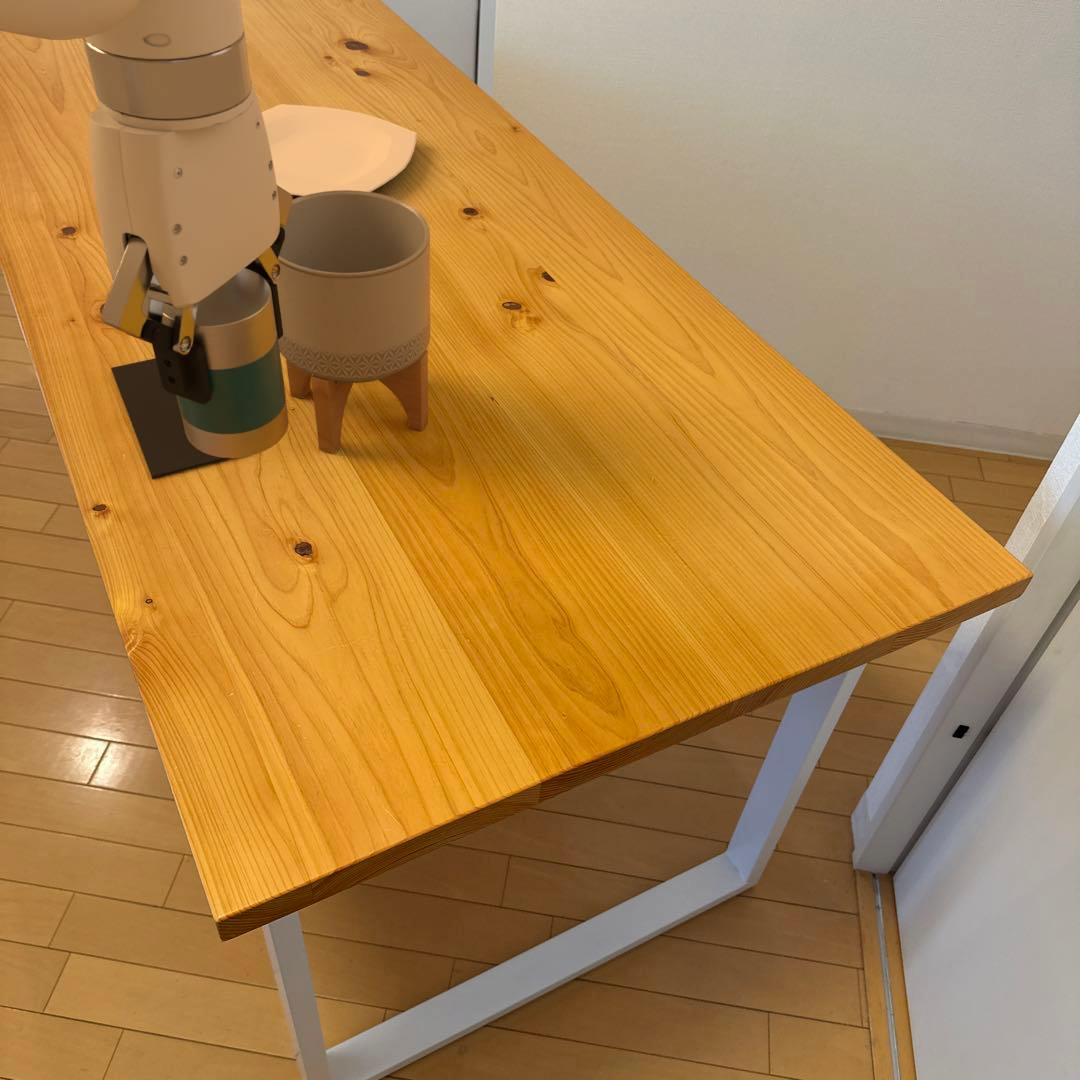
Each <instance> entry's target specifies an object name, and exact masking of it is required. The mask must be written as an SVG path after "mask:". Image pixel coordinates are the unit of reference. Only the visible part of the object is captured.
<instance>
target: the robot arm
mask: <svg viewBox="0 0 1080 1080" xmlns="http://www.w3.org/2000/svg"><path fill="white" fill-rule="evenodd" d="M0 32H5V33H8V34H14V35H19V36H25V37H32V38H38V39H43V40H50V41H69V40H71V41H72V40H79V39H80V40H81V39H82V41H83V46H84V49H85V54H86V57H87V61H88V66H89V70H90V74H91V78H92V79H91V80H92V83H93V87H94V92H95V95H96V99H97V103H98V107H97V108H96V109H94V110H93V111H91V113H89V129H88V130H89V131H88V134H89V135H88V136H89V137H88V138H89V157H90V168H91V177H92V185H93V192H94V200H95V206H96V207H95V208H96V213H97V219H98V223H99V229H100V233H101V239H102V243H103V249H104V253H105V257H106V262H107V265H108V269H109V273H110V276H111V279H112V283H111V286H110V289H109V292H108V294H107V296H106V299H105V302H104V305H103V307H102V310H101V314H100V318H101V322H102V323H104V324H105V325H107V326H110V327H111V328H114V329H115V330H118V331H120V332H122V333H125V334H126V335H127V336H130V337H133V338H136V339H138V340H140V341H144V342H146V343H149V344H151V346H152V351H153V354H154V358H155V359H156V363H157V367H158V371H159V375H160V379H161V383H162V386H163V388H164V389H165V390H166V391H167V392H170V393H172V394H175V395H178V396H180V397H183V398H186V399H189V400H191V401H194V402H197V403H200V404H203V405H205V404H206V403H208V402H209V401H210V400H211V399H212V392H211V387H210V382H209V377H208V372H207V367H206V362H205V357H204V352H203V348H202V346H200V345H198V344H196V343H193V339H194V330H195V322H196V314H197V306H198V302H199V301H201V300H202V299H204V298H205V297H207V296H208V295H210V294H211V293H212V292H214V291H215V290H216V289H218V288H219V287H220V286H222V285H223V284H224V283H226V282H227V281H228V280H230V279H231V278H232V277H233V276H235V275H236V274H237V273H239V272H240V271H241V270H242V269H244V268H246V269H249V270H251V271H254V272H256V273H257V274H259V275H260V276H262V277H263V278H264V279H265V280H266V281H267V282H268V284H269V286H270V288H271V294H272V301H273V308H274V316H275V323H276V330H277V334H278V340H279V339H280V338H281V337H282V336H283V327H282V319H281V312H280V304H279V297H278V289H277V284H274V283H273V281H277V280H278V279H279V277H280V275H281V271H282V267H281V264H280V262H279V261H278V257H279V254H280V251H281V248H282V245H283V242H284V240H285V230H284V228H283V226H284V227H285V225H286V222H287V219H288V216H289V212H290V209H291V206H292V202H293V199H294V198H293V197H294V196H292V195H291V194H290V193H289V192H287V191H286V190H284V189H283V188H281V187H279V186H278V185H277V184H276V177H275V171H274V166H273V160H272V155H271V150H270V145H269V141H268V136H267V132H266V128H265V123H264V119H263V116H262V112H263V111H262V109H261V105H260V101H259V99H258V95H257V92H256V89H255V86H254V83H253V80H251V72H250V66H249V65H250V64H249V57H248V48H247V41H246V40H247V39H246V32H245V28H244V19H243V12H242V5H241V0H0ZM164 303H165V304H168V305H171V306H174V307H175V308H176V309H175V317H174V326H173V328H172V327H169V326H167V325H165V324H162V317H163V308H164Z"/></svg>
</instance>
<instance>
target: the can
mask: <svg viewBox="0 0 1080 1080" xmlns="http://www.w3.org/2000/svg"><path fill="white" fill-rule="evenodd" d="M175 309H176V308H175V307H174V306H171V305H168V304H165V303H164V308H163V317H162V324H165V325H167V326H169V327H172V328H173V326H174V317H175ZM193 343H196V344H198V345H200V346H202V348H203V352H204V357H205V362H206V367H207V372H208V377H209V382H210V387H211V392H212V399H211V400H210V401H209V402H208V403H206V404H205V405H203V404H200V403H197V402H194V401H191V400H189V399H186V398H183V397H180V396H178V395H176V396H177V401H178V405H179V409H180V412H181V416H182V420H183V424H184V429H185V433H186V436H187V438H188V440H189V442H190V443H191V444H192V445H193V446H194V447H195V448H197V449H198V450H200V451H201V452H204V453H206V454H209V455H212V456H216V457H222V458H231V459H238V458H239V459H241V458H247V457H252V456H255V455H259V454H261V453H263V452H265V451H267V450H269V449H271V448H273V447H274V446H275V445H277V444H278V443H279V442H280V441H281V440H282V439H283V437H284V436H285V435H286V433H287V431H288V429H289V414H288V413H289V412H288V405H287V395H286V388H285V380H284V379H285V378H284V373H283V366H282V359H281V358H282V357H281V353H280V349H279V342H278V334H277V330H276V323H275V316H274V308H273V301H272V294H271V288H270V286H269V284H268V282H267V281H266V280H265V279H264V278H263V277H262V276H260V275H259V274H257V273H256V272H254V271H251V270H249V269H246V268H244V269H242V270H241V271H240V272H239V273H237V274H236V275H235V276H233V277H232V278H231V279H230V280H228V281H227V282H226V283H224V284H223V285H222V286H220V287H219V288H218V289H216V290H215V291H214V292H212V293H211V294H210V295H208V296H207V297H205V298H204V299H202V300H201V301H199V302H198V306H197V314H196V322H195V330H194V339H193Z"/></svg>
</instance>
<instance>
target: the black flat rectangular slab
mask: <svg viewBox="0 0 1080 1080" xmlns="http://www.w3.org/2000/svg"><path fill="white" fill-rule="evenodd" d="M110 370H111V373H112V374H113V378H114V381H115V383H116V386H117V388H118V391H119V395H120V397H121V399H122V401H123V405H124V407H125V410H126V412H127V415H128V418H129V421H130V423H131V426H132V429H133V431H134V433H135V436H136V439H137V442H138V445H139V448H140V450H141V453H142V455H143V458H144V460H145V462H146V466H147V468H148V472H149V473H150V476H151V479H152V480H154V479H158V478H161V477H165V476H169V475H173V474H178V473H180V472H184V471H188V470H192V469H197V468H200V467H204V466H208V465H211V464H215V463H216V464H217V463H220V462H223V461H224V462H225V461H227V460H231V459H232V458H222V457H216V456H212V455H209V454H206V453H204V452H201V451H200V450H198V449H197V448H195V447H194V446H193V445H192V444H191V443H190V442H189V440H188V438H187V436H186V433H185V429H184V424H183V420H182V416H181V412H180V409H179V405H178V401H177V396H176V395H175V394H172V393H170V392H167V391H166V390H165V389H164V388H163V386H162V383H161V379H160V375H159V371H158V367H157V363H156V359H155V357H154V358H149V359H145V360H140V361H136V362H132V363H127V364H123V365H117V366H112V367H110Z"/></svg>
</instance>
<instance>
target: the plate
mask: <svg viewBox="0 0 1080 1080" xmlns="http://www.w3.org/2000/svg"><path fill="white" fill-rule="evenodd" d="M261 112H262V116H263V119H264V123H265V128H266V132H267V136H268V141H269V145H270V150H271V155H272V160H273V166H274V171H275V177H276V184H277V185H278V186H279V187H281V188H283V189H284V190H286V191H287V192H289V193H290V194H291V195H292V197H296V198H299V197H301V196H305V195H309V194H313V193H319V192H325V191H336V190H354V191H365V192H372V193H374V192H375V191H377V190H378V189H381V188H382V187H383V186H385V185H387V184H388V183H389V182H391V181H393V180H395V179H396V177H398V176H399V175H400V174H401V173H402V172H404V171H405V170H406V168H407V166H408V165H409V163H410V161H411V159H412V157H413V154H414V152H415V148H416V145H417V138H418V133H417V132H416V131H413V130H410V129H408V128H406V127H404V126H401V125H399V124H395V123H393V122H390V121H388V120H385V119H382V118H379V117H376V116H373V115H370V114H365V113H362V112H358V111H355V110H348V109H342V108H337V107H336V108H335V107H327V106H326V107H325V106H315V105H301V104H289V103H287V104H284V103H280V104H278V105H275V106H273V107H271V108H268V109H266V110H264V111H261Z"/></svg>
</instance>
